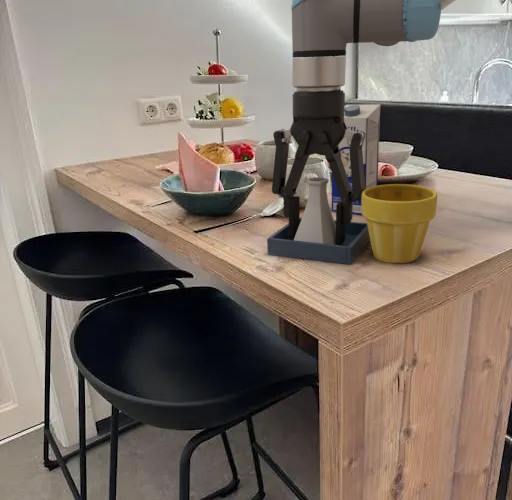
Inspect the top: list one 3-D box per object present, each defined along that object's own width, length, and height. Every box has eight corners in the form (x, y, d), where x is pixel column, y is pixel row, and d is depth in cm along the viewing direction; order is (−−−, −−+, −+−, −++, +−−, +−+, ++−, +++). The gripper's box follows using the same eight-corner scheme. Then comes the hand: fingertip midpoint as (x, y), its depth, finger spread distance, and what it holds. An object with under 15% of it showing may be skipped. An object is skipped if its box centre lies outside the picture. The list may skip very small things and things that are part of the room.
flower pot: (401, 275, 68) (405, 205, 64) (345, 255, 76) (346, 192, 72) (447, 256, 73) (452, 191, 70) (391, 239, 81) (393, 180, 78)
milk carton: (377, 206, 100) (381, 103, 93) (364, 215, 95) (367, 106, 88) (345, 203, 104) (346, 103, 97) (330, 211, 99) (330, 106, 92)
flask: (325, 251, 75) (326, 186, 72) (285, 243, 79) (284, 181, 76) (347, 238, 81) (350, 177, 77) (309, 231, 85) (309, 172, 81)
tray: (371, 238, 82) (371, 223, 81) (350, 264, 72) (350, 247, 71) (296, 231, 88) (296, 217, 87) (267, 254, 78) (266, 238, 77)
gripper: (394, 87, 71) (385, 240, 79) (266, 88, 79) (270, 226, 87) (382, 90, 65) (373, 255, 72) (245, 91, 73) (250, 239, 81)
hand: (316, 239), depth 80 cm, fingers closed on flask, 7 cm apart
